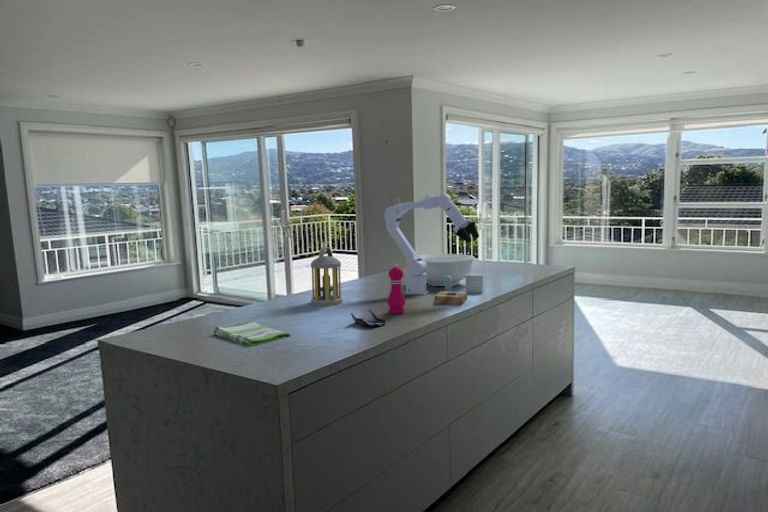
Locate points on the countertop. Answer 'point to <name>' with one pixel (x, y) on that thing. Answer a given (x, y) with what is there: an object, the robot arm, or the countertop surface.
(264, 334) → the dish towel
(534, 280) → the countertop surface
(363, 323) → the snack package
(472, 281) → the medicine box
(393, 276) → the pepper mill
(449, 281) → the peg
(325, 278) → the lantern
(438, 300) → the socket block
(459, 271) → the bowl
